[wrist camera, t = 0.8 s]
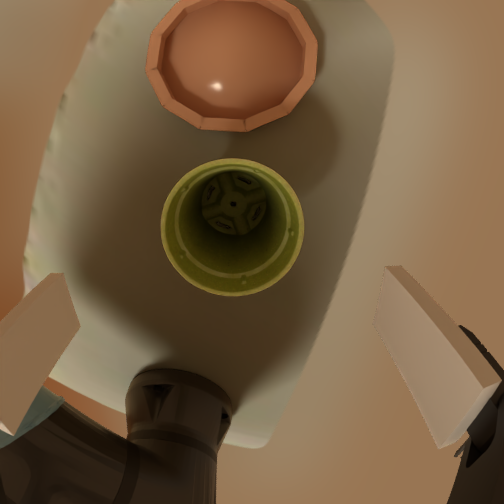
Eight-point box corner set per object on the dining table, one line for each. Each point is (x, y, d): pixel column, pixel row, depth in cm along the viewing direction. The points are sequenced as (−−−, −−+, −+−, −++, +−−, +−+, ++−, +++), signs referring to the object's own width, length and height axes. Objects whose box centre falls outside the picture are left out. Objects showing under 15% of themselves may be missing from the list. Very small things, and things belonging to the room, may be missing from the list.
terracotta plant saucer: (250, 161, 25) (251, 163, 23) (127, 85, 22) (116, 81, 20) (338, 49, 21) (346, 42, 19) (215, -22, 18) (213, -34, 16)
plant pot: (302, 177, 26) (329, 196, 18) (260, 264, 29) (267, 314, 21) (207, 136, 24) (190, 135, 16) (170, 229, 27) (144, 267, 19)
